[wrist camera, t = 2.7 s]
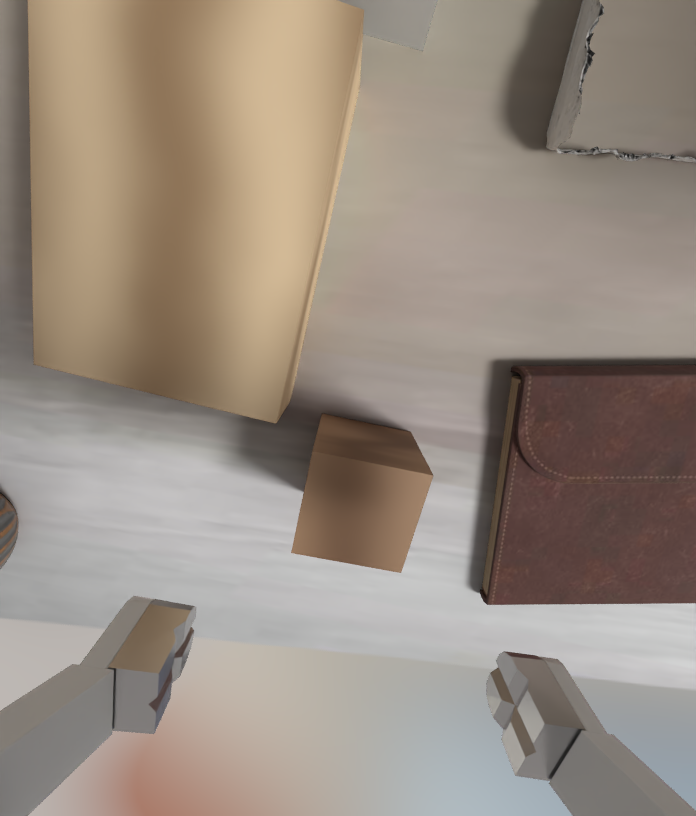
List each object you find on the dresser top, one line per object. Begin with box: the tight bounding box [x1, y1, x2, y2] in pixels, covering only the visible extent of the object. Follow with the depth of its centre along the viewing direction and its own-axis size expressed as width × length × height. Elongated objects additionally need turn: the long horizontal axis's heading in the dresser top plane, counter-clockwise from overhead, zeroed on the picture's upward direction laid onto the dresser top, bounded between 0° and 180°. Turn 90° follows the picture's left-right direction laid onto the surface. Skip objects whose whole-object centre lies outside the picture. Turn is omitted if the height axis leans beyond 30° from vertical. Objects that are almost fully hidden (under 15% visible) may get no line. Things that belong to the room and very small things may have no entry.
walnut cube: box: [291, 414, 433, 573], centre depth 16 cm, size 5×5×5 cm
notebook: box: [480, 365, 696, 605], centre depth 18 cm, size 15×20×2 cm
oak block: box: [28, 0, 364, 424], centre depth 13 cm, size 10×14×4 cm
